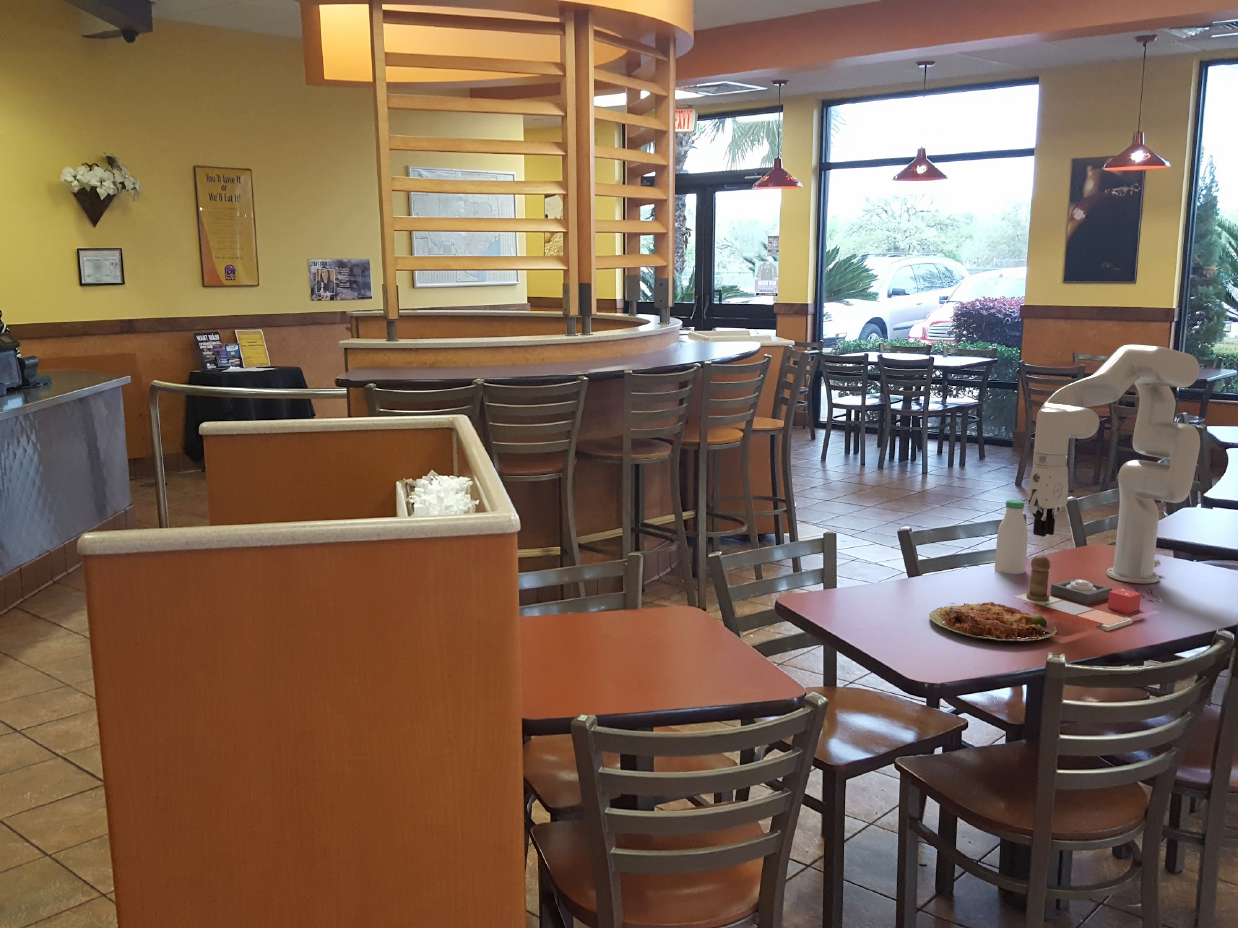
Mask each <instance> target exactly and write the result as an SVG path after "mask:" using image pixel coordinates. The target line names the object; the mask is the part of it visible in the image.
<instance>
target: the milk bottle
mask: <svg viewBox="0 0 1238 928" xmlns="http://www.w3.org/2000/svg"><path fill="white" fill-rule="evenodd" d="M1005 509H1006V511H1005V514H1004V517H1003V519H1001V522H1000V524H999V526H998V529H997V536H996V538H997V539H996V545H995V546H996V548H995V549H996V550H995V561H994V571H995V573H999V572H1000V573H1002V574H1003V573H1004V574H1009V575H1010V574H1011V575H1013V574H1014V575H1019V574H1024V573H1025V572H1026V566H1027V556H1028V555H1027V553H1028V552H1027V551H1028V542H1029V539H1028V537H1029V531H1028V526H1027V524H1026V521H1025V517H1024V510H1025V502H1024V500H1023V501H1022V500H1019V499H1007V500H1006V502H1005Z"/></svg>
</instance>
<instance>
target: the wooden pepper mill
mask: <svg viewBox="0 0 1238 928" xmlns="http://www.w3.org/2000/svg"><path fill="white" fill-rule="evenodd" d="M1030 567H1031V570H1030V581H1029V582H1030V583H1029V591H1027V592H1026V593H1027V596H1026V597H1027V598H1028V599H1030V600H1033V601H1048V600H1049V596H1050V594H1049V593H1048V587H1049V586H1048V584H1049V583H1048V582H1049V574H1050V573H1049V572H1050V571H1049V570H1050V568H1051V561H1050V560H1049V558H1048V557H1047V556H1045V555H1036V556H1034V557H1033V558H1032V560H1031V563H1030Z"/></svg>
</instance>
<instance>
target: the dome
mask: <svg viewBox="0 0 1238 928" xmlns="http://www.w3.org/2000/svg"><path fill="white" fill-rule="evenodd" d="M1089 582H1090V581H1088V580H1085V579H1080V580H1075V581H1073V582H1071V583H1070V584H1069V585H1067V586H1066V587H1068V588H1072V589H1075V590H1079V591H1082V592H1086V593H1088V592H1091V591H1095V590H1097V589H1096V588H1094V587H1093V585H1092V584H1091V583H1092V582H1091V583H1089Z"/></svg>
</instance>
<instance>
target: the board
mask: <svg viewBox="0 0 1238 928" xmlns="http://www.w3.org/2000/svg"><path fill="white" fill-rule="evenodd" d="M1026 596H1027V592H1026V593H1023V594H1018V595H1014V596H1013V598H1015V599H1019V600H1022V601H1026V602H1029V603H1033V604H1037V605H1039V606H1044V607H1046V608H1049V609H1053V610H1056V611H1059V612H1062V613H1066V614H1070V615H1073V616H1075V615H1076V617H1080V618H1083V619H1086V620H1090V621H1093V622H1097V623H1100V625H1096V626H1095V628H1096V629H1098V630H1099V629H1100V630H1103V631H1106V632H1109V631H1113V630H1115V629H1118V628H1122V627H1125V626H1128V625H1131V624H1133V621H1134V620H1133V618H1130V617H1128V616H1126V617H1123V616H1120V615H1117V614H1112V613H1109V612H1105V611H1102V610H1099V609H1094V608H1092V607H1089V606H1085V605H1081V604H1078V603H1076V602H1075V603H1074V602H1072V601H1067V600H1063V599H1061V598H1057V597H1054V596H1050V595H1049V600H1048V601H1033V600H1030V599H1028V598H1027V597H1026Z"/></svg>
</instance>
